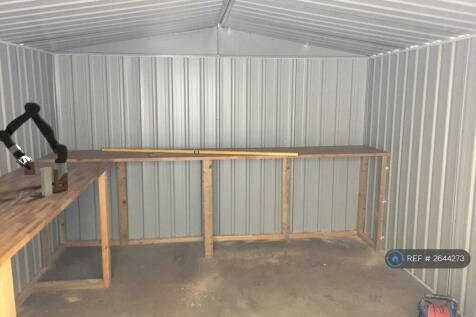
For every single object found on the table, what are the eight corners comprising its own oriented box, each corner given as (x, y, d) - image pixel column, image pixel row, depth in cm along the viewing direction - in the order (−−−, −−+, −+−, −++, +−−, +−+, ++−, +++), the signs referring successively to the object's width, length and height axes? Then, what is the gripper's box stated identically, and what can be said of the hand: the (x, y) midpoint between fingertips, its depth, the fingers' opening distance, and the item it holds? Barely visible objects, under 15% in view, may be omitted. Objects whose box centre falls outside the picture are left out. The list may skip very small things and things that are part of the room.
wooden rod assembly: (68, 190, 335) (67, 168, 332) (55, 192, 327) (54, 169, 324) (66, 189, 338) (65, 167, 335) (52, 191, 329) (52, 169, 327)
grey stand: (39, 192, 324) (37, 165, 321) (54, 193, 322) (53, 166, 318) (29, 195, 314) (27, 168, 310) (44, 197, 311) (43, 169, 308)
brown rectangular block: (28, 173, 320) (27, 160, 318) (35, 174, 319) (34, 161, 317) (24, 174, 316) (23, 161, 315) (31, 175, 315) (30, 162, 313)
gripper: (12, 150, 309) (28, 167, 308) (26, 147, 323) (41, 164, 322) (7, 156, 311) (22, 173, 311) (21, 153, 325) (35, 170, 324)
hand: (31, 168), depth 316 cm, fingers closed on brown rectangular block, 4 cm apart
